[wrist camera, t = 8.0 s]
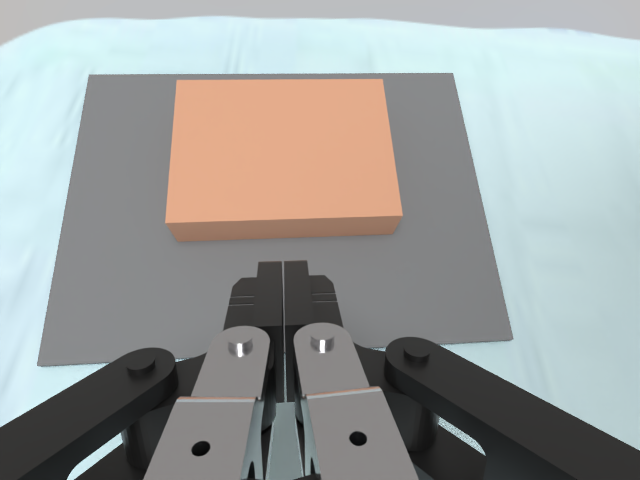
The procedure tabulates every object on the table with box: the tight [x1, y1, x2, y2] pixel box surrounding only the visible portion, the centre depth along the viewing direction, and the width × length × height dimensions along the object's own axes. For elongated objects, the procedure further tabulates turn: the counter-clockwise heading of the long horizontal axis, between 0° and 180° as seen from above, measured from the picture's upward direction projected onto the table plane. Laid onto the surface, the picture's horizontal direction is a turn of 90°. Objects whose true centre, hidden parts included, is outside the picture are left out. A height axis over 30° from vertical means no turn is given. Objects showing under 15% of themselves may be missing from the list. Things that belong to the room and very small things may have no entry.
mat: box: [37, 73, 513, 367], centre depth 25 cm, size 24×18×1 cm
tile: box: [165, 79, 403, 242], centre depth 24 cm, size 12×2×9 cm
